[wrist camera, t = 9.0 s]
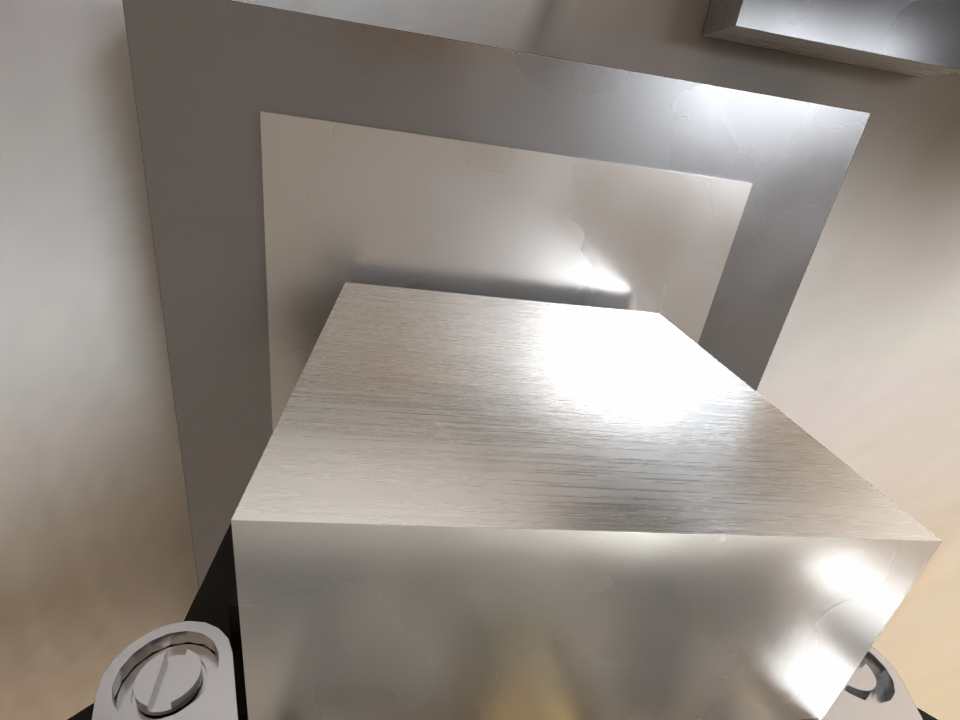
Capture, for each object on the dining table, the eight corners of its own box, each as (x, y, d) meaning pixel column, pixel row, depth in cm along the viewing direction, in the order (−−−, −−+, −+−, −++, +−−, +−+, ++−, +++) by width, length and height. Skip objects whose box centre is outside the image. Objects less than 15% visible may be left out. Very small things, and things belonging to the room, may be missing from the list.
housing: (573, 601, 13) (755, 1177, 6) (336, 599, 12) (216, 1277, 5) (658, 313, 10) (1286, 819, 3) (345, 282, 9) (41, 912, 2)
